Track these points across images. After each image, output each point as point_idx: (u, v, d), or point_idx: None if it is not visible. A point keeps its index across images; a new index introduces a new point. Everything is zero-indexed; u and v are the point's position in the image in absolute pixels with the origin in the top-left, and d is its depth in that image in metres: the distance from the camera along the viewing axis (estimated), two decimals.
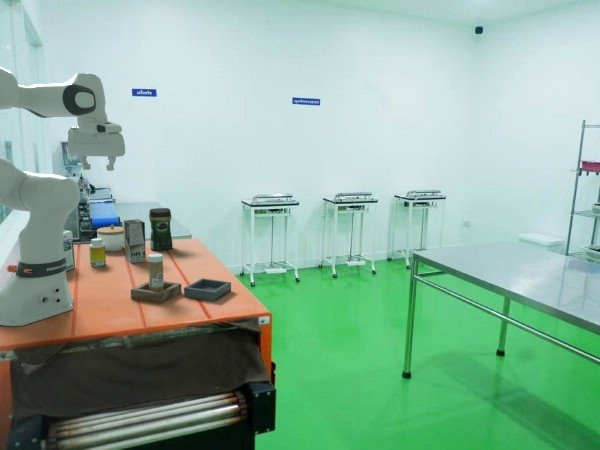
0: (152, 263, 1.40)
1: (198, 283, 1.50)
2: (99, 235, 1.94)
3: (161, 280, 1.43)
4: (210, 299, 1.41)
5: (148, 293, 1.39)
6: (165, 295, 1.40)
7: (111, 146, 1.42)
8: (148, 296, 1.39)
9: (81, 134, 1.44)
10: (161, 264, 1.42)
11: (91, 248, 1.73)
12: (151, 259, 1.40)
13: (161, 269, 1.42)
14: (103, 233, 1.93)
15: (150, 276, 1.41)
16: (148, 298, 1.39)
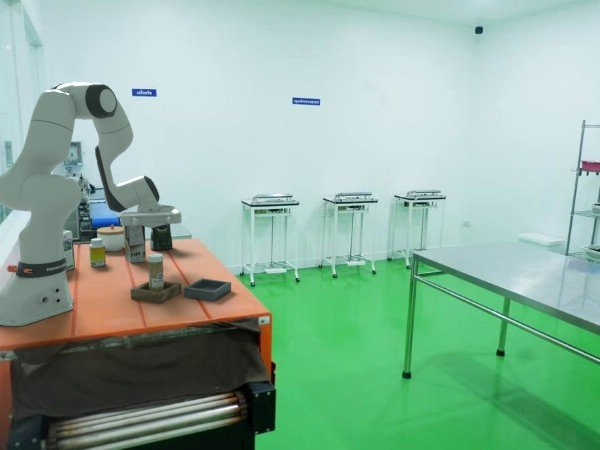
0: (152, 263, 1.40)
1: (198, 283, 1.50)
2: (99, 235, 1.94)
3: (161, 280, 1.43)
4: (210, 299, 1.41)
5: (148, 293, 1.39)
6: (165, 295, 1.40)
7: (174, 212, 1.61)
8: (148, 296, 1.39)
9: (140, 211, 1.61)
10: (161, 264, 1.42)
11: (91, 248, 1.73)
12: (151, 259, 1.40)
13: (161, 269, 1.42)
14: (103, 233, 1.93)
15: (150, 276, 1.41)
16: (148, 298, 1.39)
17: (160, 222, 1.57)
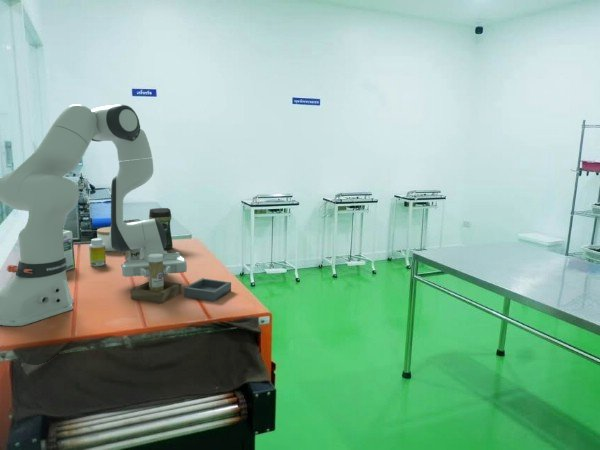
0: (152, 263, 1.40)
1: (198, 283, 1.50)
2: (99, 235, 1.94)
3: (161, 280, 1.43)
4: (210, 299, 1.41)
5: (148, 293, 1.39)
6: (165, 295, 1.40)
7: (179, 260, 1.52)
8: (148, 296, 1.39)
9: (143, 259, 1.51)
10: (161, 264, 1.42)
11: (91, 248, 1.73)
12: (151, 259, 1.40)
13: (161, 269, 1.42)
14: (103, 233, 1.93)
15: (150, 276, 1.41)
16: (148, 298, 1.39)
17: None
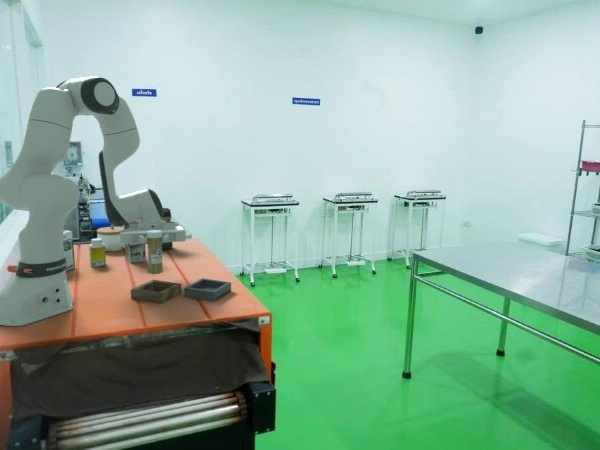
0: (152, 239, 1.39)
1: (198, 283, 1.50)
2: (99, 235, 1.94)
3: (160, 256, 1.41)
4: (210, 299, 1.41)
5: (148, 293, 1.39)
6: (165, 295, 1.40)
7: (178, 229, 1.50)
8: (148, 296, 1.39)
9: (141, 228, 1.49)
10: (160, 240, 1.41)
11: (91, 248, 1.73)
12: (150, 235, 1.39)
13: (160, 245, 1.41)
14: (103, 233, 1.93)
15: (149, 252, 1.40)
16: (148, 298, 1.39)
17: None
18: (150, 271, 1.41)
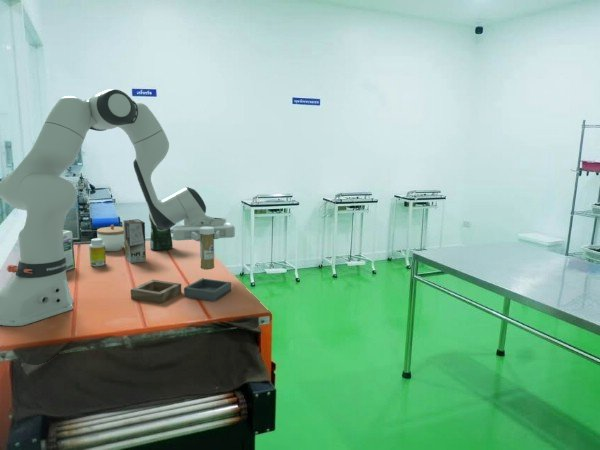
0: (205, 236, 1.42)
1: (198, 283, 1.50)
2: (99, 235, 1.94)
3: (213, 252, 1.45)
4: (210, 299, 1.41)
5: (148, 293, 1.39)
6: (165, 295, 1.40)
7: (227, 225, 1.53)
8: (148, 296, 1.39)
9: (191, 225, 1.52)
10: (213, 236, 1.44)
11: (91, 248, 1.73)
12: (203, 231, 1.42)
13: (213, 241, 1.44)
14: (103, 233, 1.93)
15: (202, 248, 1.43)
16: (148, 298, 1.39)
17: None
18: (203, 267, 1.44)
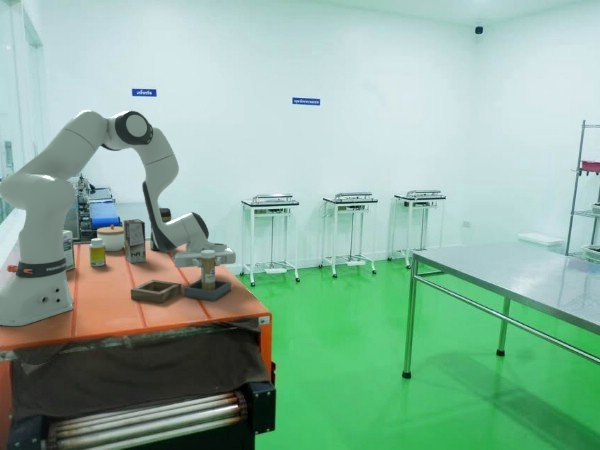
0: (206, 259, 1.44)
1: (198, 283, 1.50)
2: (99, 235, 1.94)
3: (214, 275, 1.46)
4: (210, 299, 1.41)
5: (148, 293, 1.39)
6: (165, 295, 1.40)
7: (228, 251, 1.55)
8: (148, 296, 1.39)
9: (192, 251, 1.54)
10: (214, 260, 1.45)
11: (91, 248, 1.73)
12: (205, 255, 1.43)
13: (214, 265, 1.46)
14: (103, 233, 1.93)
15: (203, 272, 1.45)
16: (148, 298, 1.39)
17: None
18: None
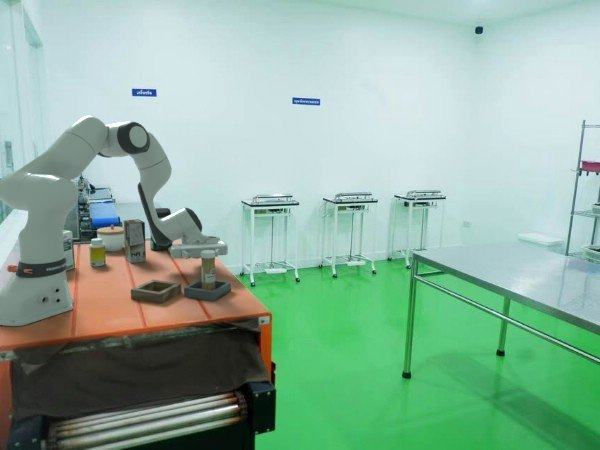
0: (206, 259, 1.44)
1: (198, 283, 1.50)
2: (99, 235, 1.94)
3: (214, 275, 1.46)
4: (210, 299, 1.41)
5: (148, 293, 1.39)
6: (165, 295, 1.40)
7: (220, 243, 1.66)
8: (148, 296, 1.39)
9: (187, 243, 1.66)
10: (214, 260, 1.46)
11: (91, 248, 1.73)
12: (205, 255, 1.43)
13: (214, 265, 1.46)
14: (103, 233, 1.93)
15: (203, 272, 1.45)
16: (148, 298, 1.39)
17: None
18: None
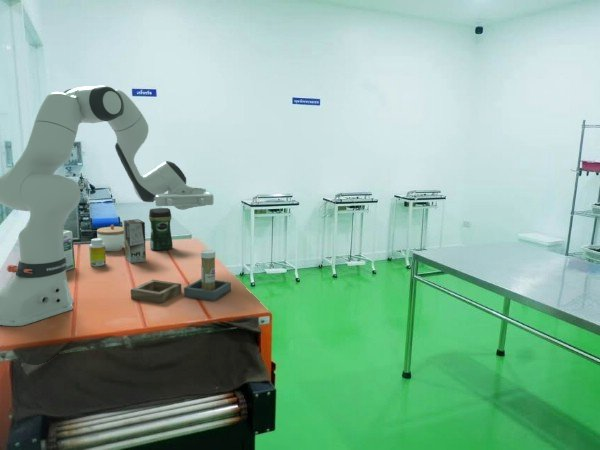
0: (206, 259, 1.44)
1: (198, 283, 1.50)
2: (99, 235, 1.94)
3: (214, 275, 1.46)
4: (210, 299, 1.41)
5: (148, 293, 1.39)
6: (165, 295, 1.40)
7: (206, 194, 1.65)
8: (148, 296, 1.39)
9: (173, 193, 1.64)
10: (214, 260, 1.46)
11: (91, 248, 1.73)
12: (205, 255, 1.43)
13: (214, 265, 1.46)
14: (103, 233, 1.93)
15: (203, 272, 1.45)
16: (148, 298, 1.39)
17: (193, 203, 1.61)
18: None
